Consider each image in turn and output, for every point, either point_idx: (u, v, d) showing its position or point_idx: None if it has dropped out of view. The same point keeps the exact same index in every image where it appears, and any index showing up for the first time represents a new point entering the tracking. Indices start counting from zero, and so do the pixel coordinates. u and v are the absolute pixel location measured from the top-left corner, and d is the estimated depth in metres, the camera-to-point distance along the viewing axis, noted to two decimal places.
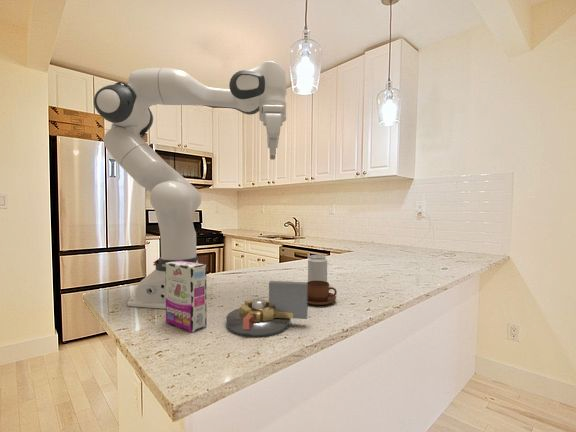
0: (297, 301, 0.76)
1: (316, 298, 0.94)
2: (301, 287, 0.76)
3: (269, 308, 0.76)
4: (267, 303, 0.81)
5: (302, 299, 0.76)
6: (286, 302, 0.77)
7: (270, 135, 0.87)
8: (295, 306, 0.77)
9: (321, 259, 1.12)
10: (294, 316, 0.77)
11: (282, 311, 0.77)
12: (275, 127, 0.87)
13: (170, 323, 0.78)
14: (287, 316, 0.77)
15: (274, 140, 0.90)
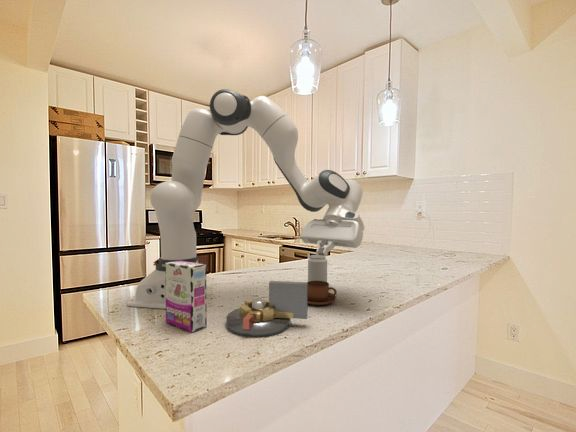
0: (297, 301, 0.76)
1: (316, 298, 0.94)
2: (301, 287, 0.76)
3: (269, 308, 0.76)
4: (267, 303, 0.81)
5: (302, 299, 0.76)
6: (286, 302, 0.77)
7: (354, 242, 0.85)
8: (295, 306, 0.77)
9: (321, 259, 1.12)
10: (294, 316, 0.77)
11: (282, 311, 0.77)
12: (360, 239, 0.87)
13: (170, 323, 0.78)
14: (287, 316, 0.77)
15: (333, 245, 0.89)
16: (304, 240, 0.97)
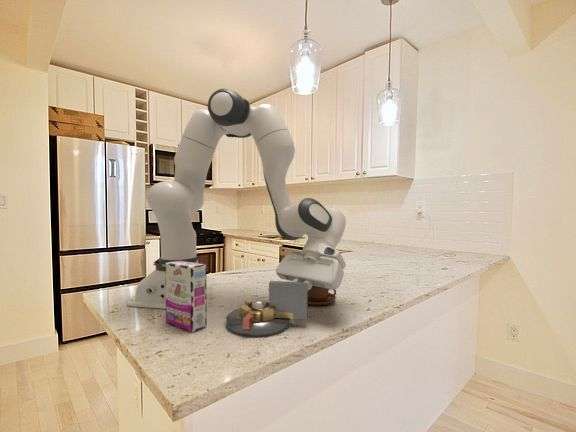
0: (297, 301, 0.76)
1: (316, 298, 0.94)
2: (301, 287, 0.76)
3: (269, 308, 0.76)
4: (267, 303, 0.81)
5: (302, 299, 0.76)
6: (286, 302, 0.77)
7: (332, 284, 0.76)
8: (295, 306, 0.77)
9: None
10: (294, 316, 0.77)
11: (282, 311, 0.77)
12: (339, 280, 0.78)
13: (170, 323, 0.78)
14: (287, 316, 0.77)
15: (310, 285, 0.80)
16: (280, 276, 0.88)
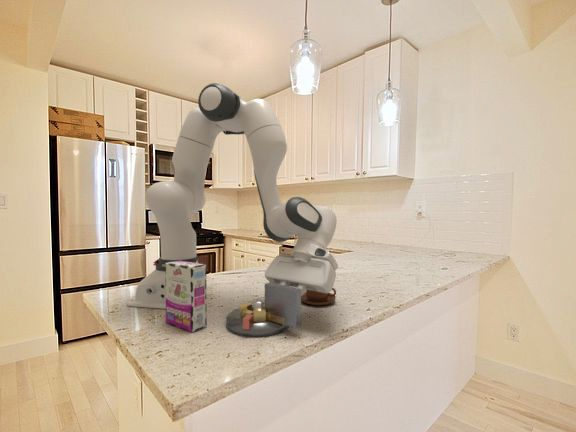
0: (288, 307, 0.72)
1: (316, 298, 0.94)
2: (291, 292, 0.71)
3: (262, 309, 0.75)
4: None
5: (292, 306, 0.71)
6: (278, 306, 0.74)
7: (324, 288, 0.72)
8: (286, 312, 0.72)
9: None
10: (285, 322, 0.72)
11: (275, 315, 0.74)
12: (331, 283, 0.73)
13: (170, 323, 0.78)
14: (279, 321, 0.73)
15: (304, 290, 0.75)
16: (269, 280, 0.83)
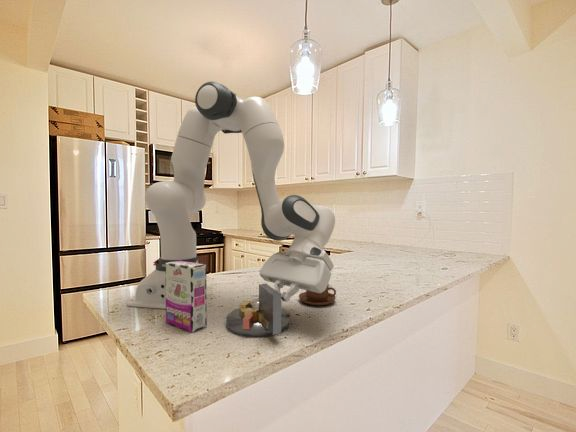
0: (269, 311, 0.69)
1: (316, 298, 0.94)
2: (271, 296, 0.68)
3: (254, 310, 0.75)
4: None
5: (271, 311, 0.68)
6: (265, 309, 0.72)
7: (317, 287, 0.70)
8: (268, 316, 0.70)
9: None
10: (268, 327, 0.70)
11: (263, 317, 0.73)
12: (325, 283, 0.72)
13: (170, 323, 0.78)
14: (264, 324, 0.71)
15: (297, 288, 0.74)
16: (264, 278, 0.82)
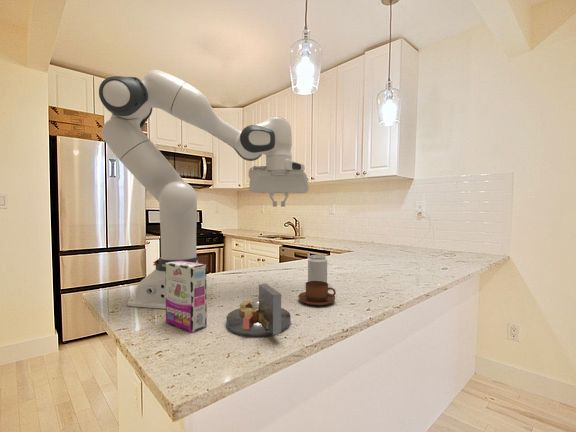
0: (269, 311, 0.69)
1: (315, 298, 0.94)
2: (271, 296, 0.68)
3: (254, 310, 0.75)
4: None
5: (271, 311, 0.68)
6: (265, 309, 0.72)
7: None
8: (268, 316, 0.70)
9: (321, 259, 1.12)
10: (268, 327, 0.70)
11: (263, 317, 0.73)
12: None
13: (170, 323, 0.78)
14: (264, 324, 0.71)
15: None
16: None
